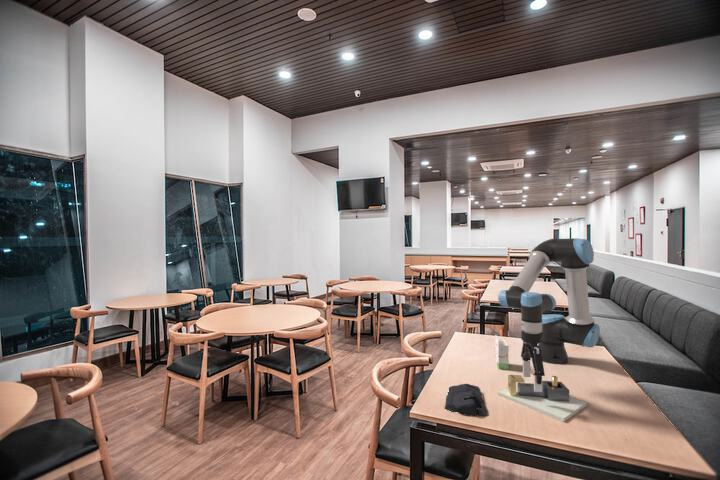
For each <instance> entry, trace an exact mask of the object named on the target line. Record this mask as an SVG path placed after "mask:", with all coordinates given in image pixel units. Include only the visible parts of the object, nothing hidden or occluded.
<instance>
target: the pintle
mask: <svg viewBox="0 0 720 480" xmlns="http://www.w3.org/2000/svg"><path fill="white" fill-rule="evenodd" d="M551 381H552V387H553V388H558V382H559V380H558V376H556V375H552V376H551Z"/></svg>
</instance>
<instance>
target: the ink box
mask: <svg viewBox="0 0 720 480" xmlns="http://www.w3.org/2000/svg"><path fill="white" fill-rule="evenodd" d="M494 341H495V342H494V344H495V346H494V349H495V354H494V355H495V358H494V359H495V360H494V361H495V362H494V363H495V364H496V367H497V368H498V370H499V369H500V370H510V368H509V365H510V364H509V351H510V350H509V348H510V346H509V345H508V343H507V341H506V340H500V338H499V337H498V336H497V335H496V334H495V339H494Z"/></svg>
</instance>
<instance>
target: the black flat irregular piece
mask: <svg viewBox="0 0 720 480" xmlns="http://www.w3.org/2000/svg"><path fill="white" fill-rule="evenodd" d="M448 389H449V392H447V393H448V395H447V394H446V398H445V405H444V410H445V409H448V410H449V411H451V412H450V413H455V412H458V413H457V414H460V415H463V414H466V415H465V416H471V415H472V417H477V416H478V417H481V416H482V417H483V416H484V417H485V416H487V415H488V413H487V412H488V411H487V407H486V405H485V402H484V401H485V400H484V397H483V395H482V392H481V388H480V387H479V386H478V385H473V384H471V383H470V384H469V383H462V384H458V385H451V386H449V387H448ZM448 410H447V411H448ZM449 411H448V412H449ZM475 415H476V416H475Z"/></svg>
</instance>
